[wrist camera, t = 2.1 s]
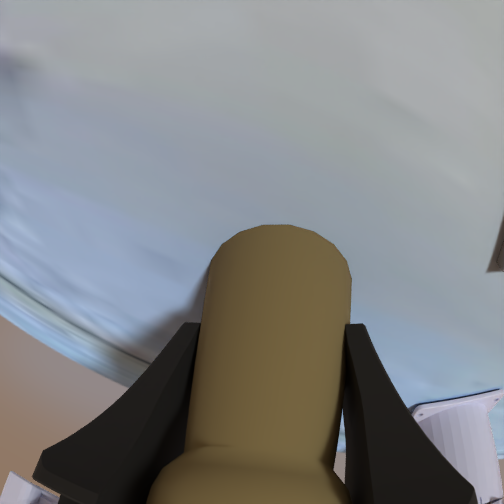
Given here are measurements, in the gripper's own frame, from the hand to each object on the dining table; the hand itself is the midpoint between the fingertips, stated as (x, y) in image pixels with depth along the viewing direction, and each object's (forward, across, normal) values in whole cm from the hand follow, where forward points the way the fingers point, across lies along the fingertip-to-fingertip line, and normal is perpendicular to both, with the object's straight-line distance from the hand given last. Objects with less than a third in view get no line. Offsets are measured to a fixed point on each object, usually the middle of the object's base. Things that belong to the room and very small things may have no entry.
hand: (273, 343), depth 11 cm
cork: (+3, 0, 0) cm, 3 cm away
